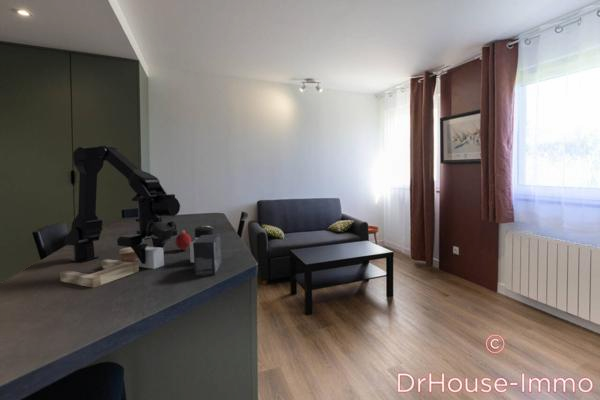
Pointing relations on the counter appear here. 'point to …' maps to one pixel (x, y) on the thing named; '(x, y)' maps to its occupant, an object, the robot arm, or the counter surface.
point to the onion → (183, 240)
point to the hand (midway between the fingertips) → (151, 261)
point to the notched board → (101, 273)
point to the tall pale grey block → (153, 257)
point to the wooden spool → (128, 255)
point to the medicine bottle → (198, 232)
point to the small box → (207, 255)
